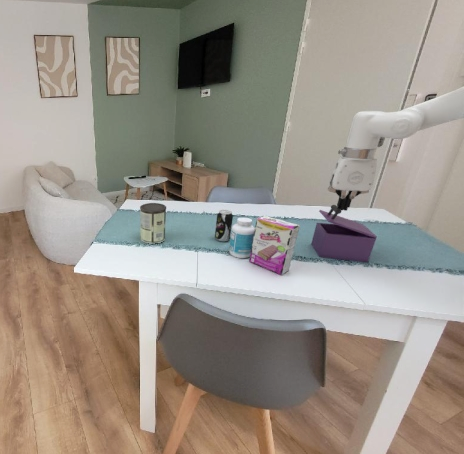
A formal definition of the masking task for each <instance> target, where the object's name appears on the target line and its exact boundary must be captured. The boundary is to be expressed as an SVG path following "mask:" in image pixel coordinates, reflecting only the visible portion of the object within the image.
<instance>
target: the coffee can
mask: <svg viewBox="0 0 464 454" xmlns="http://www.w3.org/2000/svg"><path fill="white" fill-rule="evenodd" d="M139 211H140V212H139V213H140V214H139V215H140V218H139V219H140V241H141V242H143V243H145V244H148V243H149V244H148V245H156V244H155V243H158V244H161V242H162V243H164V242H165V240H166V217H167V206H166V205H165V204H163V203H159V202H148V203H142V204H141V205H140V206H139ZM163 241H164V242H163Z"/></svg>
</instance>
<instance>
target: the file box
mask: <svg viewBox="0 0 464 454" xmlns="http://www.w3.org/2000/svg"><path fill="white" fill-rule="evenodd" d="M376 240H377V238H374V237H371V236H368V235H365V234H362V233H359V232H356V231H353V230H351V229H348V228H345V227H342V226H339V225H336V224H333V223H329V222H328V223H327V222H326V223H325V222H316V224H315V227H314V230H313V235H312V239H311V246H312V248H313V249H314V251H315V253H316V254H317V256H318V257H319V258H322V259H323V258H324V259H333V260H343V261H351V262H359V263H360V262H361V263H368V262H369V260H370V257H371V255H372V251H373V249H374V245H375V243H376Z"/></svg>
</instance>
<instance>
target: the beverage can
mask: <svg viewBox="0 0 464 454" xmlns="http://www.w3.org/2000/svg"><path fill="white" fill-rule="evenodd" d="M233 220H234V216H233V212H232V211H231V210H229V209H219V211H218V213H217V214H216V222H215V231H214V239H215V240H217V241H218V242H225V243H226V242H227V241H230V240H231V232H232V227H233Z"/></svg>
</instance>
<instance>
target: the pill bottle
mask: <svg viewBox="0 0 464 454" xmlns="http://www.w3.org/2000/svg"><path fill="white" fill-rule="evenodd" d="M254 231H255V226H254V225H253V220H252V218H249V217H244V216H243V217H237V219H236V223H234V224H232V227H231V235H230V239H229V248H228V252H229V254H230V255H231V256H232V257H235V258H236V259H237V258H238V259H247V258H250V254H251V249H252V243H253V237H254Z"/></svg>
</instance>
